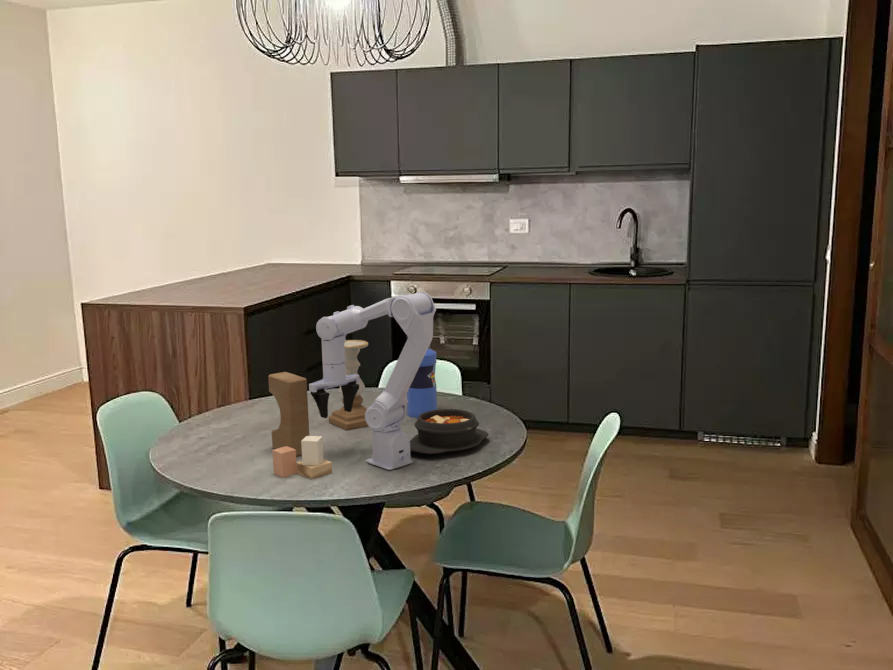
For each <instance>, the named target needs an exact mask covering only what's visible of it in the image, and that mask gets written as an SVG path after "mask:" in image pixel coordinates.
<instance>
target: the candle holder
mask: <svg viewBox="0 0 893 670" xmlns="http://www.w3.org/2000/svg"><path fill="white" fill-rule="evenodd" d="M344 345H345V369H346V375H353V374H356V375H359V373H358V370H359V367H361V363H360V361H359V360H358V355H359V353H360V351H361V349H364V348H366V347H368V346H369V342H368V341H366V340H362V339H346V341H345V343H344ZM359 381H360V382H359V383H356V384H359V389H358V391H357V393H356V395H355V398H354V401H353V406H352V410H351V412H347V411H345V410H344V401H343V398H342V400H341V402H342V404H343V406H342V407H341V408H339V409H337V410H332V412H331V414H330V415H329V416H328V423H329V424H331V425H332V426H335V427H338V428H339V429H341V430H345V431H351V430H355V429H361V428H365V427H369V426H368V424H367V423H366V420H365V412H366V410H367V408H368V407H366V406H364V405H362V404H363V402H364V398H363V397H362V394H363V393H364V392H365V389H366V388H365V387H366V386H365V384H364V382H363V380H362V378H360V376H359ZM339 392H340V394H341V395H343V393H342V389H341V386H339Z"/></svg>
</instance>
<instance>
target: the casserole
mask: <svg viewBox="0 0 893 670" xmlns="http://www.w3.org/2000/svg"><path fill="white" fill-rule="evenodd" d="M416 419H417V420H416V421H415V422H414V427H415V428H416V430H417V434H416V435H414V436H413V437H412V438H411V439H410V452H413V453H418V454H423V455H424V454H425V455H436V454H442V453H443V454H447V453H448V454H449V453H450V452H451V453H457V452H462V451H465V450H469V449H472V448H474V447H476V446H478V445H480V444H481V443H482V441H483V440H484V439H486V438H487V437H488V436H489V433H488V432H487V431H486V430H483V429H480V428H478V427H479V424H480V423H479V421H478V420H477V418H476V415H475V414H474V413H472V412H471V411H468V410H464V409H456V408H455V409H454V408H440V409H437V410H432V411H427V412H424V413H422V414H420V415H419V416H418V418H416Z"/></svg>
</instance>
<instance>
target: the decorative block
mask: <svg viewBox="0 0 893 670" xmlns="http://www.w3.org/2000/svg"><path fill="white" fill-rule="evenodd" d="M267 377H268V378H267V379H268V392H269V393H270V394H272V395H273V396H274V399H275V400H276V403H277V405H278V408H279V413H280V415H279V416H280V422H279V426H278V428H277V429H273V430H272V431H271V443H272V444H271V445H272V446H271V447H272V448H273V449H278V448H281V447H285V446H288V447H290V448H293V449H295V450H296V457H298V456H302V446H301V441H302V440H303V439H304V438H305V437H306V436H310V424H309V423H310V422H309V403H308V402H309V398H308V384H307V383H308V380H307V378H306V377H302V376H300V375H296V374H294V373H290V372H287V371H283V372H276V373H271V374H269V375H268V376H267Z"/></svg>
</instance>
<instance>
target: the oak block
mask: <svg viewBox="0 0 893 670" xmlns="http://www.w3.org/2000/svg"><path fill="white" fill-rule="evenodd" d="M296 462H297V461H296ZM297 474H298V475H300V476H303V477H305V478H308V479H310V480H313V479H317V478H320V477H323V476H327V475H330V474H333V462H332V461H330V460H327V459H324V460H323V461H322V462H321V464H320V465H319V466H315V465H302V461H298V462H297ZM297 474H296V475H297Z"/></svg>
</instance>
